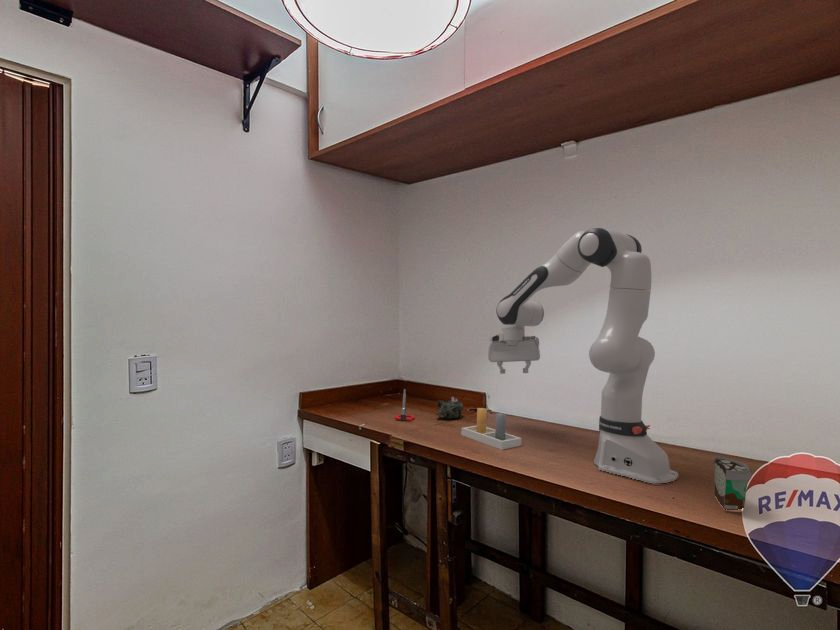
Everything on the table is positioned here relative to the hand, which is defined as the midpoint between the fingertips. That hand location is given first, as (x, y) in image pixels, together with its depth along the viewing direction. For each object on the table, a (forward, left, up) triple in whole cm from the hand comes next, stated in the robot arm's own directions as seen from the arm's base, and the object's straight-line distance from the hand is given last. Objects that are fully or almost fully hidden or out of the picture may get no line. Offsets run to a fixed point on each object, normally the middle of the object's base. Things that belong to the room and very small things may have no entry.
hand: (513, 373), depth 171 cm
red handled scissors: (+37, +25, -23) cm, 50 cm away
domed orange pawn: (-2, +18, -21) cm, 28 cm away
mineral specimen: (+31, +7, -23) cm, 39 cm away
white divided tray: (-7, +18, -22) cm, 30 cm away
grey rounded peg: (-12, +18, -21) cm, 30 cm away
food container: (-75, +4, -22) cm, 79 cm away
